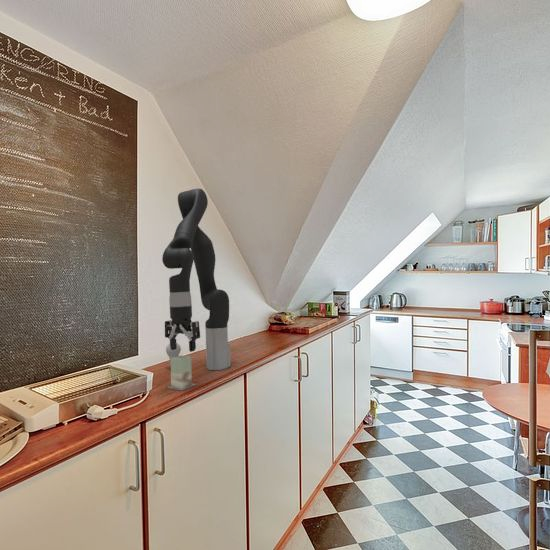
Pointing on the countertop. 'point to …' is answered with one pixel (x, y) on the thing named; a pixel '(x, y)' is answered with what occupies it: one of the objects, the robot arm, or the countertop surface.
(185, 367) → the sage block
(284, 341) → the countertop surface
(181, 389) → the build tile
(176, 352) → the lightbulb
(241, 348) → the countertop surface
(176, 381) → the birch block
